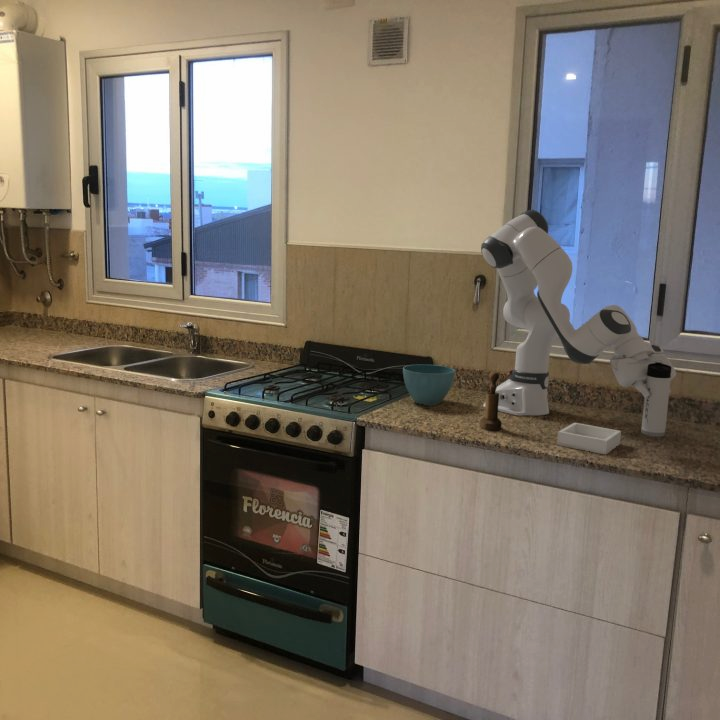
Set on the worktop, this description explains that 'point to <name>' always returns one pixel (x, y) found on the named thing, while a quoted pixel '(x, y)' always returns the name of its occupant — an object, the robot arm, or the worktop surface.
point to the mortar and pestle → (491, 406)
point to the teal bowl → (428, 382)
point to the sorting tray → (589, 438)
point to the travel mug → (656, 399)
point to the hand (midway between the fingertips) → (658, 395)
